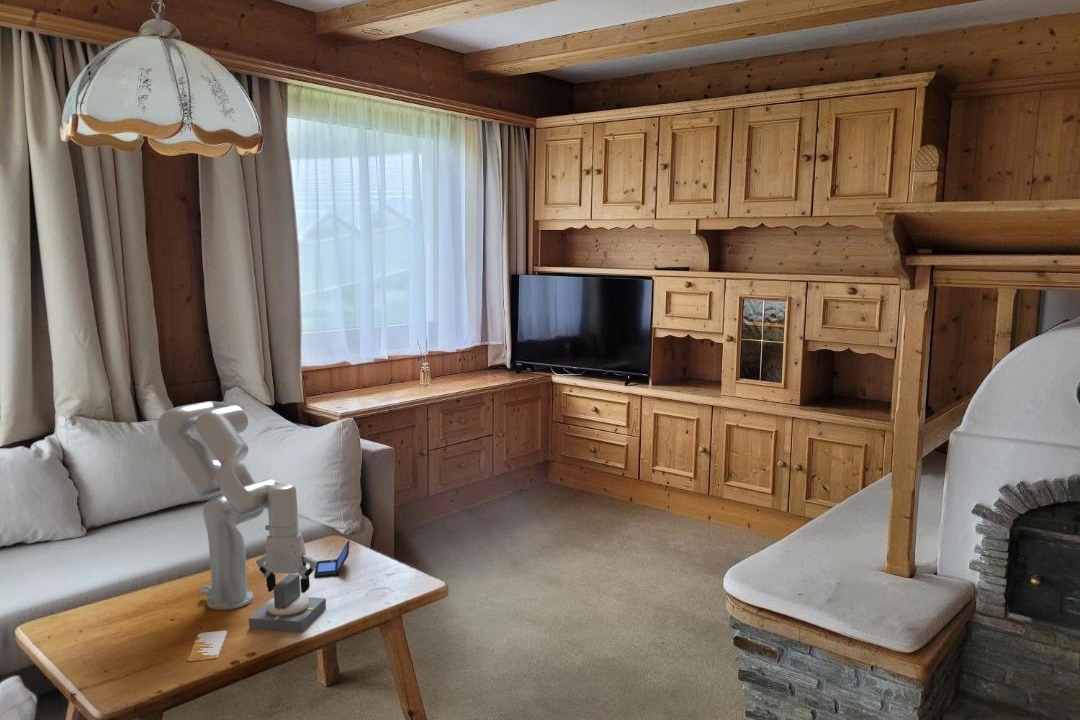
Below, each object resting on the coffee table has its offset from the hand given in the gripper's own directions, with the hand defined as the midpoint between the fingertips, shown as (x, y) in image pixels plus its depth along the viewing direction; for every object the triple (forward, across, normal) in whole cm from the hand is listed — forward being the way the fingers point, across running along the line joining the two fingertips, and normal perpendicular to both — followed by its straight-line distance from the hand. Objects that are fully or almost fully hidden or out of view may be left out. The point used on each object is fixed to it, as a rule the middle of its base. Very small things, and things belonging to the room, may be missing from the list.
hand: (288, 590), depth 220 cm
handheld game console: (+8, -3, +35) cm, 37 cm away
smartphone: (+9, -14, -18) cm, 24 cm away
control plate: (+8, -1, 0) cm, 8 cm away
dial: (+5, -1, 0) cm, 5 cm away
